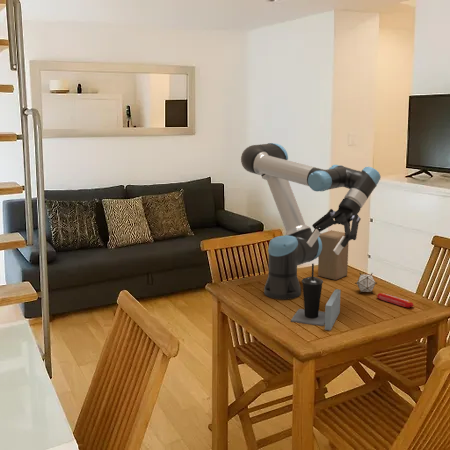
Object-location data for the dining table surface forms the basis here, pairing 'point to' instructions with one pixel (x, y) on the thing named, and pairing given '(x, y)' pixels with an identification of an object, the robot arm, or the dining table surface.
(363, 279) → the game die
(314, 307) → the drinking cup
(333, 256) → the wooden block
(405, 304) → the candy bar
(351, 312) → the dining table surface
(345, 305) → the dining table surface
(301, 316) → the rubber mat
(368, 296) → the dining table surface
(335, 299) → the low wall
